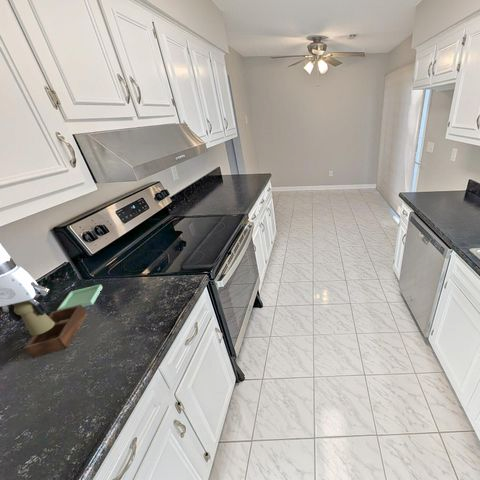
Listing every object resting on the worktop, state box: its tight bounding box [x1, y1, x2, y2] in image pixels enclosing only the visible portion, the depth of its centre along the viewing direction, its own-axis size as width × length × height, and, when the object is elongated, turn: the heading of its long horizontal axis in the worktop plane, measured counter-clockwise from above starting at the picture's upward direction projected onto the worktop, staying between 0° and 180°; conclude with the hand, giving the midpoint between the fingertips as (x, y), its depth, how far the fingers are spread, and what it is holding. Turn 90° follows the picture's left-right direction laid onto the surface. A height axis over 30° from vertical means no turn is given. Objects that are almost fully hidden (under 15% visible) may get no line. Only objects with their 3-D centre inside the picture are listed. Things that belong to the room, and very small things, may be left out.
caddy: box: [24, 305, 88, 359], centre depth 90 cm, size 9×17×5 cm, turn 22°
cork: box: [14, 301, 55, 337], centre depth 81 cm, size 6×6×11 cm
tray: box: [56, 283, 103, 311], centre depth 107 cm, size 11×12×2 cm
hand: (32, 314), depth 81 cm, fingers closed on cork, 5 cm apart
